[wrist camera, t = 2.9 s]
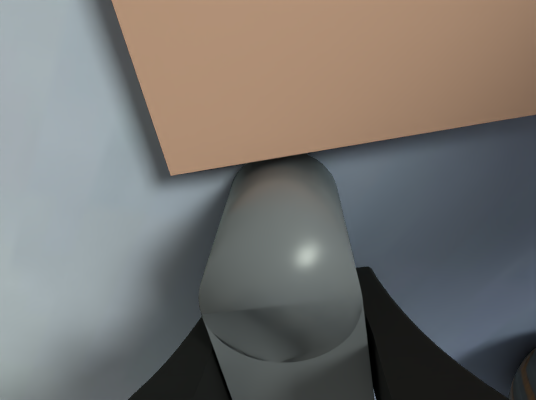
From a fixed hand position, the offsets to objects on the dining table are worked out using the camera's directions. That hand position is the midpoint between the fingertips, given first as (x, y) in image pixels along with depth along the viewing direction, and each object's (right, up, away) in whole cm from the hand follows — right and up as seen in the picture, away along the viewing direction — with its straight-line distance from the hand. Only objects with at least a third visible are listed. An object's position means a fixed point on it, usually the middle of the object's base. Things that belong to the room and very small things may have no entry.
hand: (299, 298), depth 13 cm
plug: (0, +1, +1) cm, 1 cm away
